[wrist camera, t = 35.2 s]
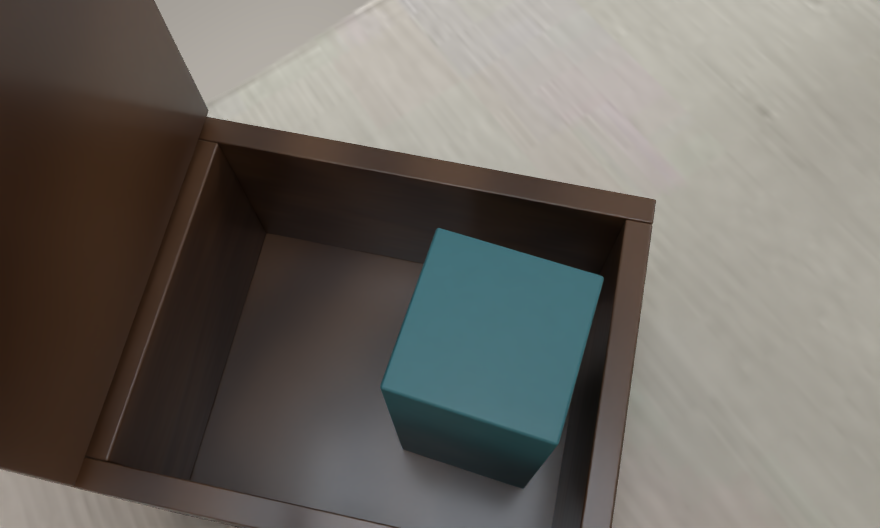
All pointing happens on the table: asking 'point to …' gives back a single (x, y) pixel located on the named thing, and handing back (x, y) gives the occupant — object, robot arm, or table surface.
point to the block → (489, 357)
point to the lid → (80, 208)
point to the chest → (346, 340)
